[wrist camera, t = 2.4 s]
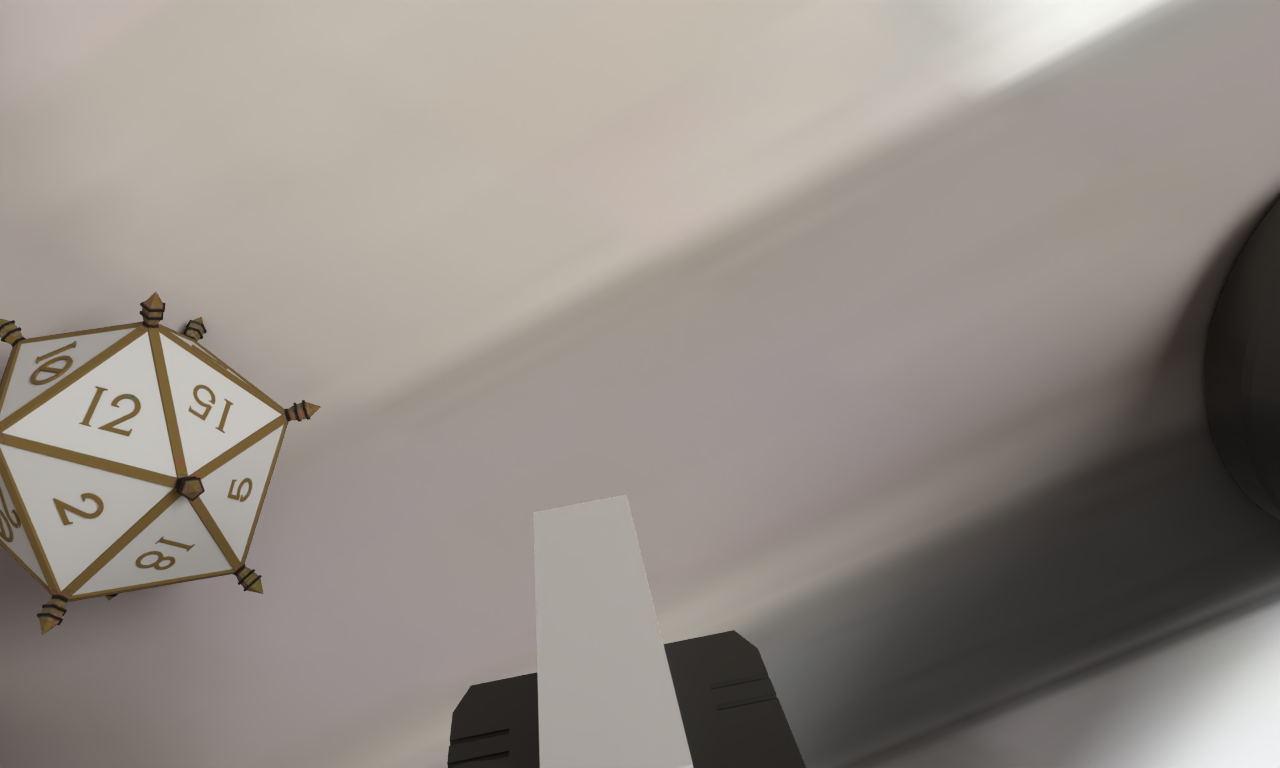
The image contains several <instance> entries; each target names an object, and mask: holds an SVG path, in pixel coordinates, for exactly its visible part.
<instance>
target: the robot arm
mask: <svg viewBox="0 0 1280 768" xmlns="http://www.w3.org/2000/svg"><path fill="white" fill-rule="evenodd" d="M1205 398H1206V408H1207V414H1208V419H1209V424H1210V428H1211V431H1212V435H1213V438H1214V441H1215V444H1216V446H1217V449H1218V451H1219V454H1220V456H1221V458H1222V460H1223V462H1224V464H1225V466H1226V467H1227V469H1228V471H1229V472H1230V474H1231V476H1232V477H1233V478H1234V480H1235V481H1236V483H1237V484H1238V485H1239V487H1240V488H1241V489H1242V490H1243V491H1244V492H1245V493H1246V495H1247V496H1248V497H1249V498H1250V499H1251V500H1253V501H1254V502H1255V503H1256V504H1257V505H1258V506H1259V507H1260V508H1262V509H1263V510H1264V511H1266V512H1267V513H1268V514H1270V515H1271V516H1273V517H1274V518H1276V519H1278V520H1279V521H1280V199H1279V200H1278V202H1277V203H1276V204H1275V205H1274V206H1273V207H1272V209H1271V210H1270V211H1269V212H1268V213H1267V215H1266V216H1265V217H1264V219H1263V220H1262V221H1261V223H1260V224H1259V225H1258V227H1257V228H1256V230H1255V231H1254V233H1253V234H1252V236H1251V237H1250V239H1249V240H1248V242H1247V243H1246V245H1245V246H1244V248H1243V250H1242V252H1241V253H1240V255H1239V257H1238V259H1237V260H1236V262H1235V264H1234V266H1233V268H1232V270H1231V273H1230V275H1229V277H1228V279H1227V281H1226V284H1225V286H1224V288H1223V291H1222V293H1221V296H1220V299H1219V302H1218V305H1217V308H1216V310H1215V314H1214V318H1213V322H1212V325H1211V329H1210V334H1209V339H1208V345H1207V352H1206V360H1205ZM533 517H534V556H535V596H536V635H537V673H532V674H527V675H522V676H517V677H512V678H507V679H502V680H497V681H492V682H487V683H482V684H477V685H472V686H471V687H470V688H469V690H468V691H467V693H466V694H465V696H464V697H463V698H462V700H461V701H460V703H459V704H458V706H457V707H456V709H455V710H454V712H453V716H452V725H451V735H450V745H451V746H449V753H448V762H447V764H448V768H806V766H805V764H804V761H803V759H802V756H801V754H800V752H799V749H798V747H797V744H796V742H795V739H794V737H793V734H792V732H791V729H790V727H789V724H788V722H787V719H786V717H785V715H784V712H783V710H782V707H781V705H780V702H779V700H778V698H777V697H776V692H775V690H774V687H773V685H772V683H771V680H770V678H769V677H768V673H767V670H766V668H765V665H764V663H763V660H762V658H761V655H760V653H759V651H758V648H756V647H755V646H754V645H752V644H751V643H750V642H748V641H747V640H746V639H744V638H743V637H742V636H741V635H739V634H738V633H737V632H735V631H734V630H733V631H728V632H723V633H718V634H713V635H708V636H703V637H698V638H693V639H688V640H683V641H678V642H673V643H668V644H663V641H662V637H661V632H660V628H659V624H658V620H657V616H656V612H655V608H654V604H653V600H652V596H651V592H650V588H649V584H648V579H647V575H646V571H645V567H644V563H643V559H642V555H641V551H640V547H639V543H638V539H637V535H636V531H635V526H634V522H633V518H632V514H631V510H630V506H629V502H628V498H627V495H621V496H616V497H611V498H606V499H600V500H595V501H590V502H585V503H579V504H574V505H569V506H564V507H558V508H553V509H548V510H543V511H537V512H533Z"/></svg>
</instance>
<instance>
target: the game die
mask: <svg viewBox="0 0 1280 768" xmlns="http://www.w3.org/2000/svg"><path fill="white" fill-rule="evenodd" d="M140 305H141V306H142V307H143V308H142V311H140V314H141V315H142V316H143V320H144V321H143V322H138V323H131V324H124V325H118V326H111V327H104V328H97V329H90V330H83V331H77V332H70V333H63V334H56V335H49V336H42V337H36V338H29V339H26V338H24V337H23V336H22V334H21V332H20V331H21V328H20V327H19V328H17V327H16V325H15V324H14V323H15V321H14V320H13V321H8V320H4V319H0V337H1V338H2V339H1V341H3V342H8V343H9V344H11V345H12V347H13V348H12V351H11V354H10V357H9V360H8V363H7V366H6V369H5V372H4V374H3V377H2V380H1V383H0V544H1V545H2V546H3V547H4V548H5V549H6V550H7V551H8V552H9V553H10V554H11V555H12V556H13V557H14V558H15V559H16V560H17V561H18V562H19V563H20V564H21V565H22V566H23V567H24V568H25V569H26V570H27V571H28V572H29V573H30V574H31V575H32V576H33V577H34V578H35V579H36V580H37V581H38V582H39V583H40V584H41V585H42V586H43V587H44V588H45V589H46V590H47V591H48V592H49V593H50V594H51V595H52V599H51V600H50V601H49V602H48V603H47V604H45V605H43V606H42V607H43V608H44V609H43V610H42V612H41V613H39V614H37V616H38V617H39V619H40V624H41V630H42V635H43V634H44V633H46V632H47V631H49V630H50V629H52V628H53V627H54V626H56V625H60V623H61V622H62V620H63V619H61V618H62V616H63V615H64V614H65V613H66V611H67V610H66V609H65V606H66V603H67V602H70V601H76V600H82V599H87V598H93V597H99V596H106V597H107V598H108V599H109V600H110V599H111V598H113V597H115V596H116V595H117V594H119V593H123V592H129V591H135V590H140V589H146V588H152V587H158V586H164V585H170V584H176V583H182V582H188V581H193V580H199V579H205V578H211V577H217V576H223V575H229V574H234V575H236V577H237V579H238V581H239V582H238V584H241V585H242V586H243V587H244V588H245V589H244V591H246V590H248V591H253V592H257V593H262V594H263V590H262V585H261V580H260V577H262V576H261V575H260V576H258V575H257V574H256V573H255V572H254V571H255V570H254V569H253V570H251V569H249V568H247V567H246V566H245V560H246V557H247V554H248V551H249V547H250V544H251V541H252V538H253V535H254V531H255V528H256V525H257V522H258V518H259V515H260V512H261V509H262V505H263V502H264V499H265V496H266V493H267V489H268V486H269V483H270V480H271V476H272V473H273V470H274V467H275V464H276V460H277V457H278V454H279V451H280V447H281V444H282V441H283V438H284V434H285V431H286V428H287V425H288V422H289V421H291V420H298V421H301V419H306V418H307V419H308V420H309V419H310V417H311V416H312V415H313V414H314V413H315V412H316V411H317V410H318V409H319V408H320V406H317V405H314V404H310V403H307V402H305V401H304V400H302V403H299V404H296V403H294V406H292V407H290V408H289V409H284V408H282V407H281V406H280V405H278V404H277V403H276V402H274V401H273V400H272V399H271V398H269V397H268V396H267V395H265V394H264V393H263V392H261V391H260V390H259V389H258V388H256V387H255V386H254V385H252V384H251V383H250V382H248V381H247V380H246V379H245V378H243V377H242V376H241V375H239V374H238V373H237V372H235V371H234V370H233V369H232V368H230V367H229V366H228V365H226V364H225V363H224V362H222V361H221V360H220V359H219V358H217V357H216V356H215V355H213V354H212V353H211V352H209V351H208V350H207V349H205V348H204V347H203V346H202V345H200V344H199V343H198V342H197V341H198V340H199V339H202V338H203V336H202V335H203V333H206V332H207V331H206V329H205V327H204V325H203V321H202V317H200V318H198V319H196V320H193V321H192V320H190V321H189V323H188V324H187V326H186V327H187V328H186V330H185V331H184V334H185V335H183V334H180V333H178V332H176V331H174V330H171V329H169V328H167V327H165V326H163V325H160V324H158V323H159V321H160V320H163V312H164V311H165V303H162V301H161V299H160V297H159V296H158V294H157V292H155V293H154V294H153V295H152V296H151V297H150V298H149V299H147V300H146V301H145V302H142V303H140Z"/></svg>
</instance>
